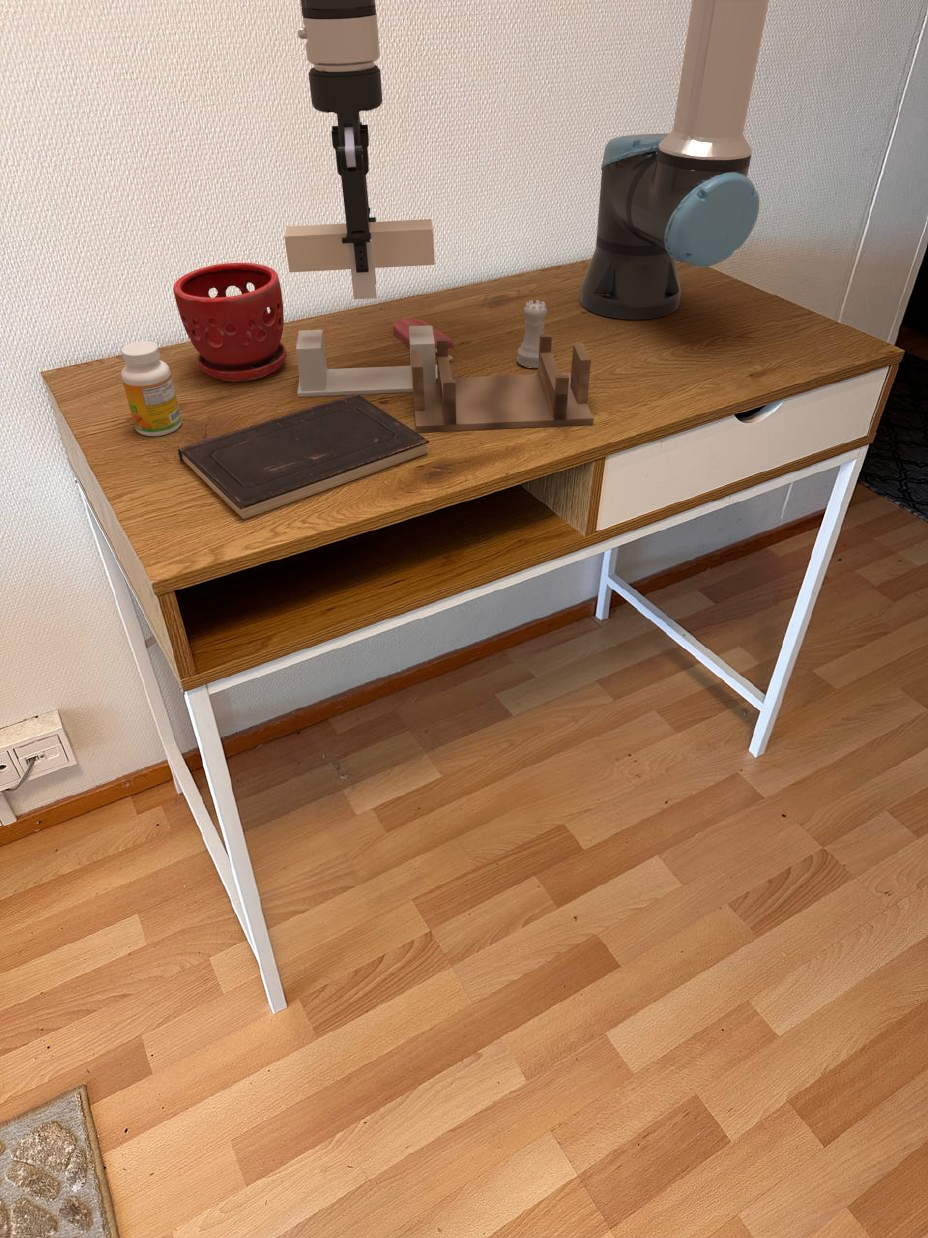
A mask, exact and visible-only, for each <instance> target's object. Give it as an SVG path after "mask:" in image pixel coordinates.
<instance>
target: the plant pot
mask: <svg viewBox="0 0 928 1238" xmlns="http://www.w3.org/2000/svg"><path fill="white" fill-rule="evenodd" d="M249 283H250V284H252V285H253V287H254V290H252V291H250V290H249V289H248V286H247V285H248V284H249ZM230 287H235V288H237V289H238V290H239V291H240V293H241V294H237V295H231V296H230V295H229V296H227V290H228V289H229V288H230ZM211 289H215V290H216V292H217V294H216V295H215V296H214V297H211V296H210V290H211ZM172 290H173V295H174V300H175V304H176V307H177V309H178V310H177V311H178V314H179V318H180V320H181V323H182V325H183V327H184V330H185V332H186V334H187V336H188V338H189V340H190V342H191V344H192V346H193V347H194V349H195V350H196V351H197V353H199V354H198V357H197V364H198V366H199V368H200V369H201V370H202V372H204V373H205V374H207V375H208V376H210V377H212V378H214V379H216V380H221V381H224V382H225V381H226V382H246V381H250V380H260V379H261V378H264V377H266V376H269V375H270V374H272V373H274V372H276V371H277V370H278V369H279V368H280V367H281V366H282V365H283V364H284V362H285V360H286V357H287V348H286V346H285V344H283V343H282V342H281V341H282V337H283V332H284V325H285V323H284V321H285V319H284V318H285V316H284V301H283V294H282V293H283V292H282V291H283V290H282V287H281V281H280V278H279V274H278V273H277V272H276V270H274V269H273V268H271V266H266V265H264V264H258V263H254V262H225V263H219V264H213V265H208V266H204V267H200V268H197V269H195V270H193V271H190V272H188V273H186V274H184V275H182V276H181V277H179V278H178V279H177V280H176V281H175V282H174V284H173V288H172ZM268 308H269V311H268Z"/></svg>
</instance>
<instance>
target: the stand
mask: <svg viewBox="0 0 928 1238" xmlns="http://www.w3.org/2000/svg"><path fill="white" fill-rule="evenodd" d="M430 325H431V326H409V342H410V348H409V356H410V357H409V358H410V365H399V366H398V365H396V366H371V367H352V368H351V367H349V368H347V367H345V368H328V366H327V359H326V349H325V340H324V332H323V331H324V329H305V330H301V329H300V330H298V335H297V339H296V345H295V346H296V347H295V352H296V360H297V361H296V362H297V368H298V374H299V378H298V386H297V391H296V392H297V397H298V398H302V397H303V398H305V397H308V398H309V397H325V396H349V395H352V394H356V393H357V394H359V395H372V394H373V395H375V394H378V395H379V394H395V393H396V394H398V393H401V392H402V393H413V387H412V384H413V380H412V358H411V350H421V354H422V362H423V379H424V384H434V383H436V378H438V375H437V364H436V353H435V342H434V335H433V328H432V327H433V325H432V324H430Z"/></svg>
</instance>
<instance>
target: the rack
mask: <svg viewBox="0 0 928 1238" xmlns="http://www.w3.org/2000/svg"><path fill="white" fill-rule="evenodd" d="M448 338H449V337H448ZM448 338H446V339H437V354H436V363H437V364H436V365H437V375H438V378H436V383H434V384H424V379H423V362H422V354H421V350H411V358H412V380H413V384H412V387H413V392H412V397H413V400H412V401H413V408H414V409H413V411H414V420H415V421H414V422H415V432H417V433H432V432H433V433H434V432H435V433H436V432H456V431H457V432H458V431H460V432H461V431H477V430H500V429H501V430H502V429H503V430H504V429H523V428H524V429H525V428H542V427H543V428H546V427H566V426H586V425H587V426H588V425H589V426H592V425H594V419H595V418H594V416H593V413H592V412H591V409H590V406H589V404H588V397H589V386H590V385H589V384H590V376H591V375H590V374H591V364H592V360H591V357H590V354H589V353H588V351H587V349H586V346H585V344H584V343H573V345H572V356H571V370H570V372H560V370H559V368H558V366H557V363H556V361H555V358H554V356H553V354H552V341H553V335H552V334H550V333H549V334H544V335H540V342H539V362H538V369H537V373H533V374H532V373H531V374H514V375H513V374H512V375H511V374H510V375H506V374H505V375H489V376H488V375H486V376H464V377H463V376H462V377H461V376H460V377H453V374H452V370H451V369H452V368H451V363H450V362H451V361H449V357H448V354H449V349H448Z"/></svg>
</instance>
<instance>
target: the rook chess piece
mask: <svg viewBox="0 0 928 1238" xmlns="http://www.w3.org/2000/svg"><path fill="white" fill-rule="evenodd" d="M522 312H523V314H524V315H525V320H524V322H523V323H524V325H525V326H524V327H525V329H524V335H523V336H524V337H523V340H522V343H521V344H520V347H519V348H518V349H517V352H516V353H517V357H516V361H517V363H518V365H520V364H521V365H523V366H526V367H531V368H538V362H539V342H540V335H545V325H546V324H547V323H546V321H545V316H546V315H547V314H548V312H549V311H548V309H547V305H546V302H545V301H541V300H539V299H536V300H535V303H534V300H528V301H526V302H525V306H524V308H523V309H522ZM521 365H520V366H521Z"/></svg>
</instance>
